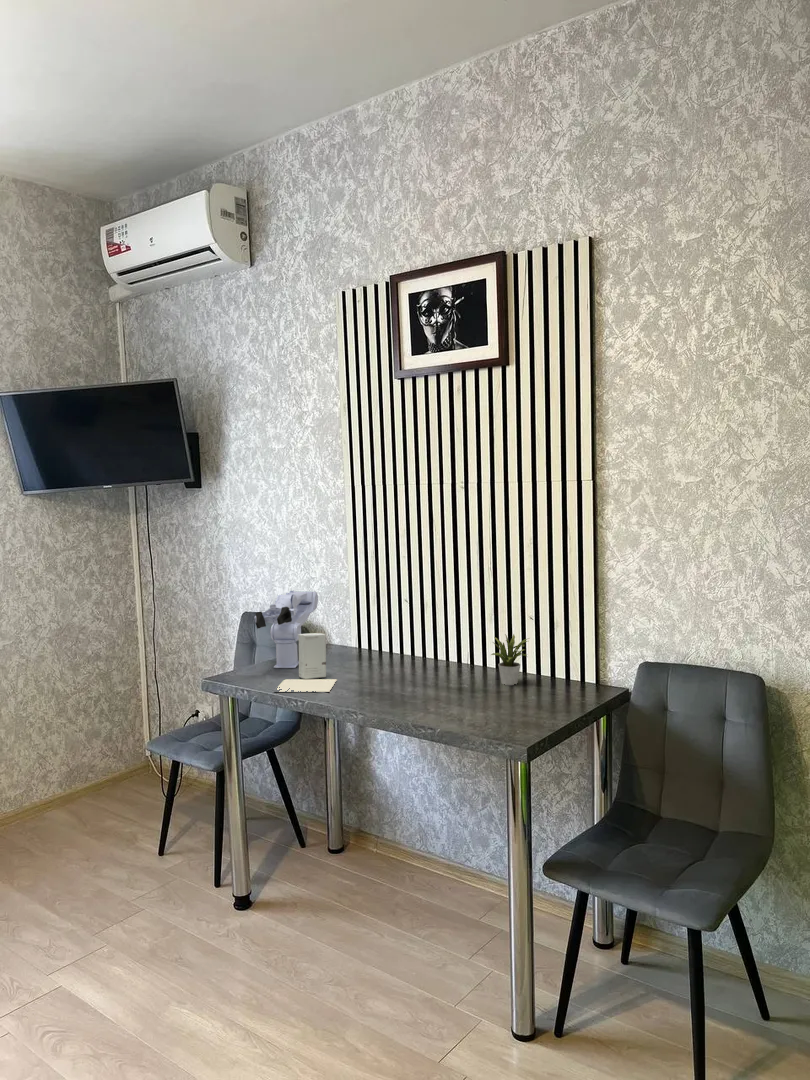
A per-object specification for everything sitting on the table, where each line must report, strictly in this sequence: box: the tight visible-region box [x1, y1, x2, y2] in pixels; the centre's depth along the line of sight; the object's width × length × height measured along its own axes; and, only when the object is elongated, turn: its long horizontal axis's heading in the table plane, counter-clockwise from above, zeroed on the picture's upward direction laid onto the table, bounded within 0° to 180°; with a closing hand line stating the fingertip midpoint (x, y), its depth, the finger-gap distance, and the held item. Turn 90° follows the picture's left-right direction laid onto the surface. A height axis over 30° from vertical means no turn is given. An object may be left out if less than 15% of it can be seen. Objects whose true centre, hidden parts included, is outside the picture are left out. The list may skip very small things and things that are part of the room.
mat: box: [276, 678, 338, 693], centre depth 260 cm, size 15×18×1 cm
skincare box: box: [298, 632, 327, 679], centre depth 272 cm, size 8×6×15 cm
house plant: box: [490, 633, 530, 686], centre depth 257 cm, size 14×14×16 cm
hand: (267, 623), depth 269 cm, fingers open, 7 cm apart
